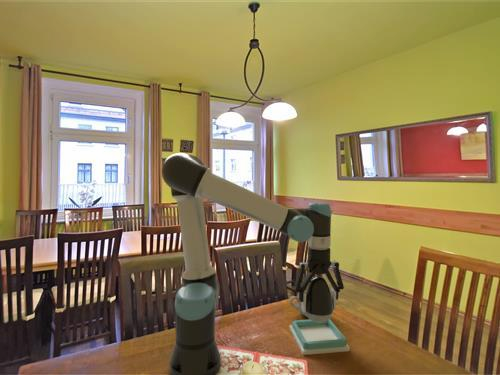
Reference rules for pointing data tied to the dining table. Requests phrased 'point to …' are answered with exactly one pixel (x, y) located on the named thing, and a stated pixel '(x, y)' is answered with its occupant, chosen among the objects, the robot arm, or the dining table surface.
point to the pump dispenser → (318, 300)
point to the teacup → (297, 304)
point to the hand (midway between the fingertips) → (318, 309)
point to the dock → (318, 337)
